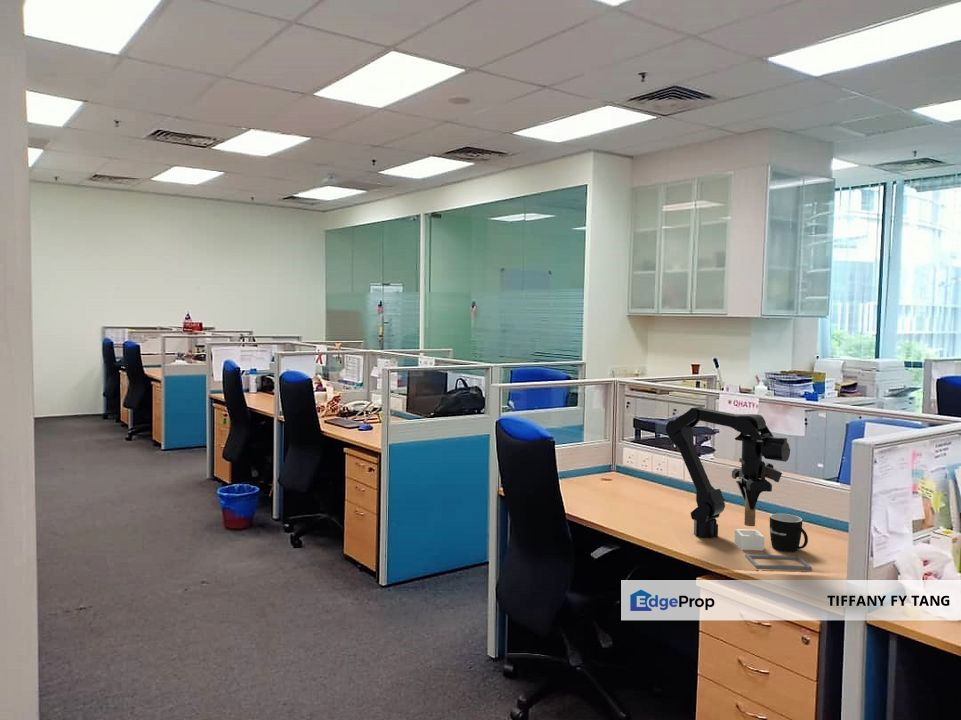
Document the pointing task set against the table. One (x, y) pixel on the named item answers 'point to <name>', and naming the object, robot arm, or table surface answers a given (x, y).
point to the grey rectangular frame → (805, 567)
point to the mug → (786, 532)
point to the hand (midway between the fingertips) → (750, 507)
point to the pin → (749, 514)
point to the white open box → (749, 539)
